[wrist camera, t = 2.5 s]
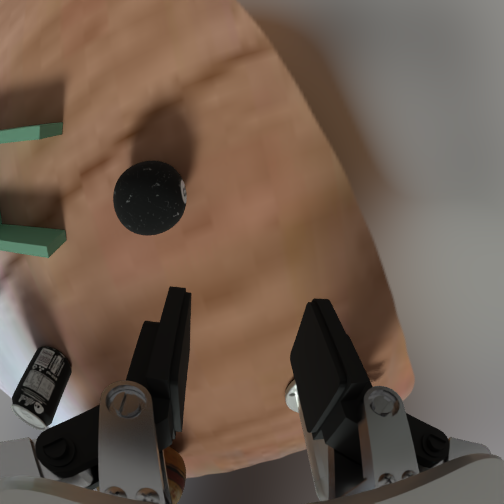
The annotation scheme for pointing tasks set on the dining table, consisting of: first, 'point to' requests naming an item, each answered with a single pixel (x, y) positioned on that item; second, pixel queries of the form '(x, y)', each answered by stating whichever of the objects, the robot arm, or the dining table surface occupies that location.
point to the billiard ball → (149, 197)
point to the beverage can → (41, 388)
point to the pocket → (24, 236)
